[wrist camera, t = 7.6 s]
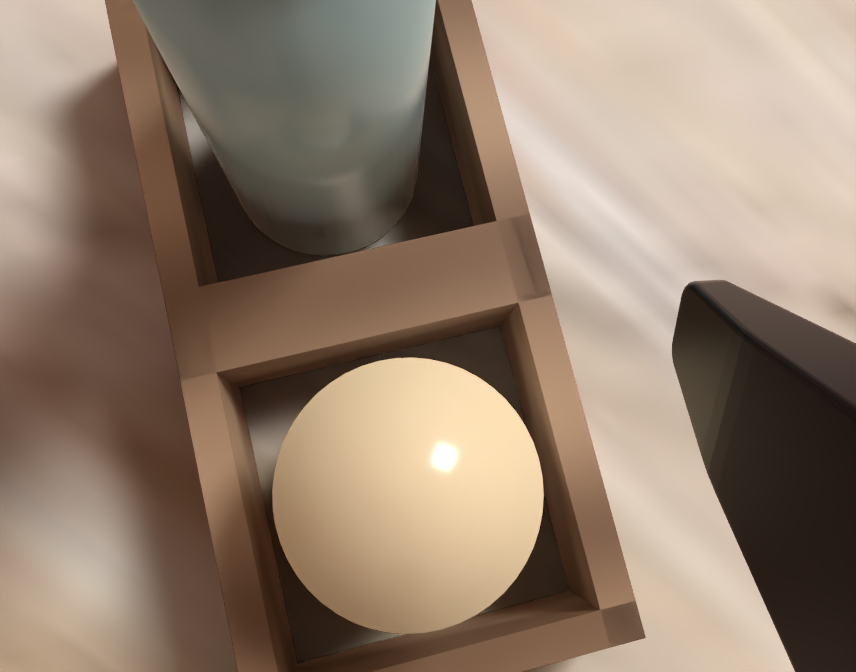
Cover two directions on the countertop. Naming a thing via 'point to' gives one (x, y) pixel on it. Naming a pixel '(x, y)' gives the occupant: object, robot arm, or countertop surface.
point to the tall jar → (306, 107)
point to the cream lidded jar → (407, 495)
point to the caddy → (367, 336)
